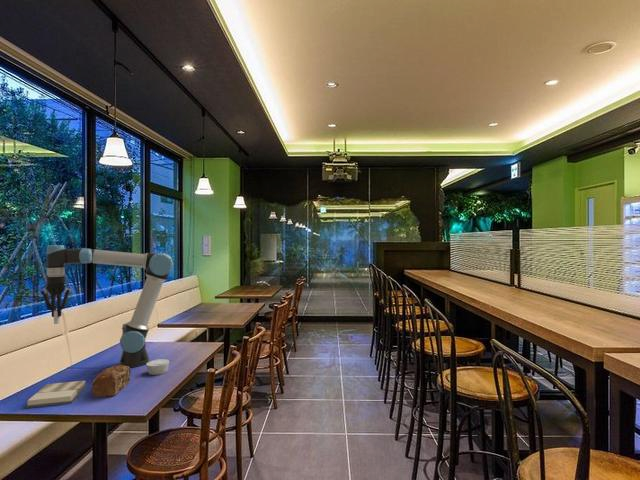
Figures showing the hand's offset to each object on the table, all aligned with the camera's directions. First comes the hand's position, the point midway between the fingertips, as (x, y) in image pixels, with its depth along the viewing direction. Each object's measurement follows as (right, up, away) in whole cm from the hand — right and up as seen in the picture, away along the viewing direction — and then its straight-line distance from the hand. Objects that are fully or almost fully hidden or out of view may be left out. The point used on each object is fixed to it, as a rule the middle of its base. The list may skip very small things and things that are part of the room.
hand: (56, 323), depth 198 cm
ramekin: (+46, -28, +10) cm, 55 cm away
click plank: (+14, -27, -17) cm, 35 cm away
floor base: (+15, -28, -21) cm, 38 cm away
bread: (+35, -28, -13) cm, 47 cm away
